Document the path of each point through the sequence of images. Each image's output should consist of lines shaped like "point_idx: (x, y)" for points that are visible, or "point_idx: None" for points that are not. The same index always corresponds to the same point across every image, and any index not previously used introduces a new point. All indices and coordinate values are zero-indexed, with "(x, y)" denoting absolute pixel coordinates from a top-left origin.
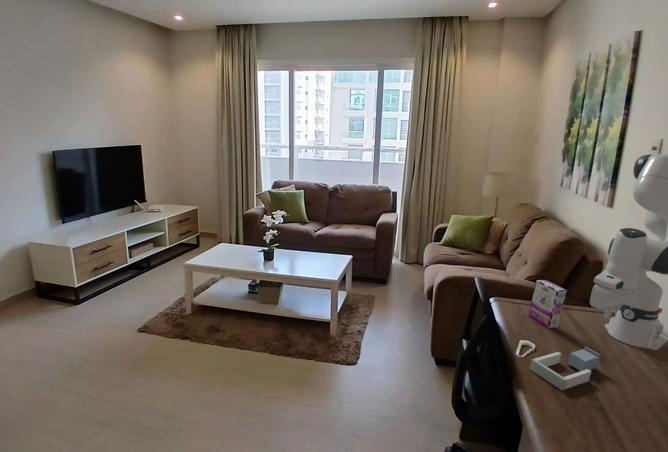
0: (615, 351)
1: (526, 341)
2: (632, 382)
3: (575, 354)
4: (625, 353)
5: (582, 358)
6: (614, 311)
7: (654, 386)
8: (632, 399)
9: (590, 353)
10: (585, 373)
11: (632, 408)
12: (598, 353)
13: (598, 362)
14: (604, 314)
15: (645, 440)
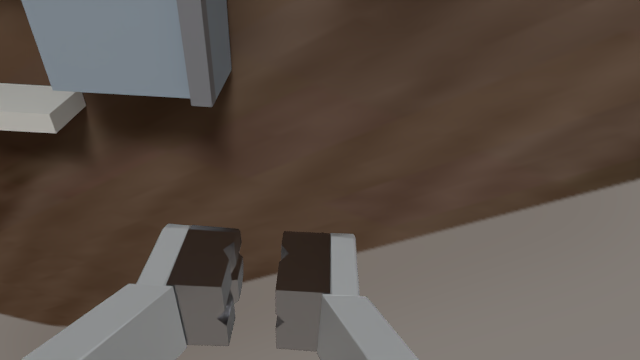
0: (583, 4)
1: None
2: (299, 189)
3: (41, 11)
4: (607, 47)
5: (57, 64)
6: (325, 352)
7: (360, 232)
8: None
9: (180, 50)
10: (3, 129)
11: (124, 251)
12: (205, 95)
13: (225, 81)
14: (153, 259)
15: (31, 310)
